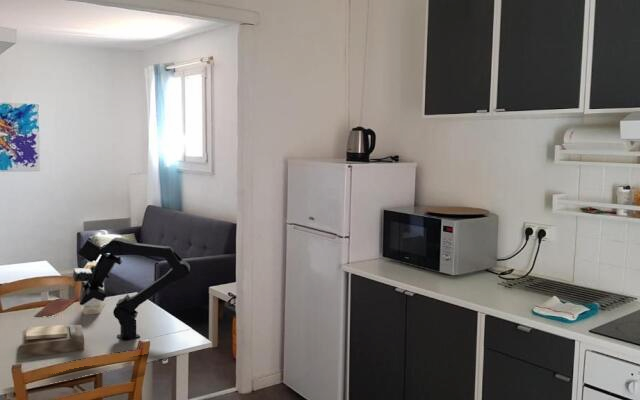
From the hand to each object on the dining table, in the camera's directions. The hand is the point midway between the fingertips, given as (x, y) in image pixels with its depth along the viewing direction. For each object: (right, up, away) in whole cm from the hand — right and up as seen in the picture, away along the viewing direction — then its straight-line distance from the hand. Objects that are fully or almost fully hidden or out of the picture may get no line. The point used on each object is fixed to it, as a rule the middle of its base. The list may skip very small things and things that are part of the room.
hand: (80, 304), depth 210 cm
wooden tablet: (-27, -9, +39) cm, 48 cm away
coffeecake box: (-10, -9, +38) cm, 41 cm away
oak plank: (-9, -9, -9) cm, 15 cm away
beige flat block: (-7, -14, -7) cm, 17 cm away
